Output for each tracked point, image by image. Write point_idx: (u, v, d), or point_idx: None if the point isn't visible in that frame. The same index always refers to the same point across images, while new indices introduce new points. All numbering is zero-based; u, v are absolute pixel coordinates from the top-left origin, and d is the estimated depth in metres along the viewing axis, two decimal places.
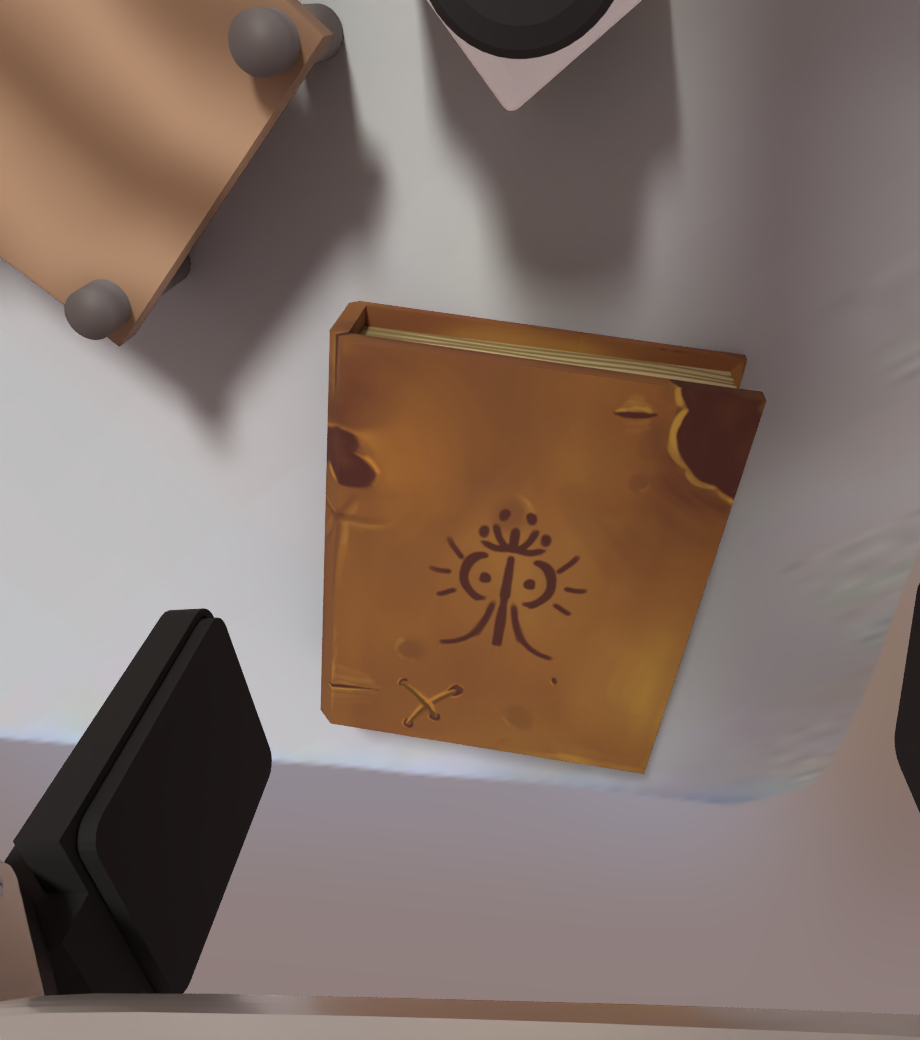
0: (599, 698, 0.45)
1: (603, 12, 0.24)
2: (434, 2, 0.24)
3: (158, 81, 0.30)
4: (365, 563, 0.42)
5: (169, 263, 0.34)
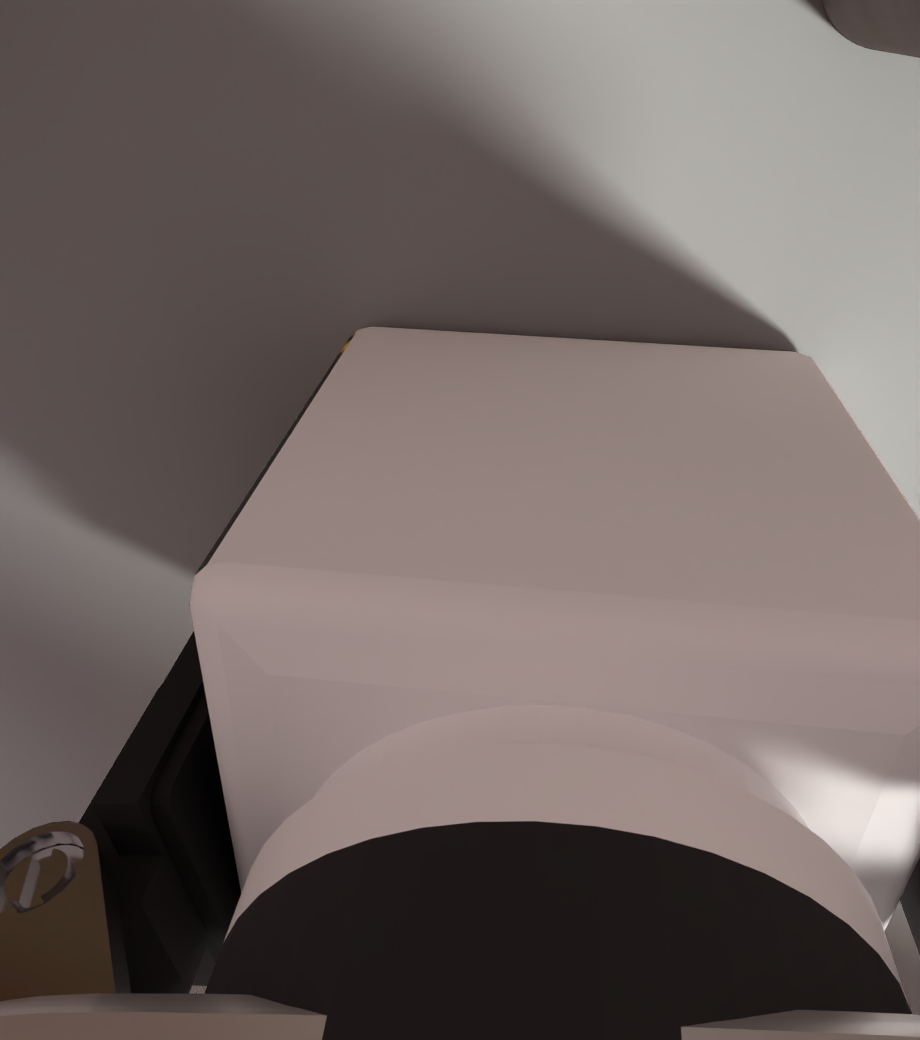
0: None
1: None
2: None
3: None
4: None
5: None
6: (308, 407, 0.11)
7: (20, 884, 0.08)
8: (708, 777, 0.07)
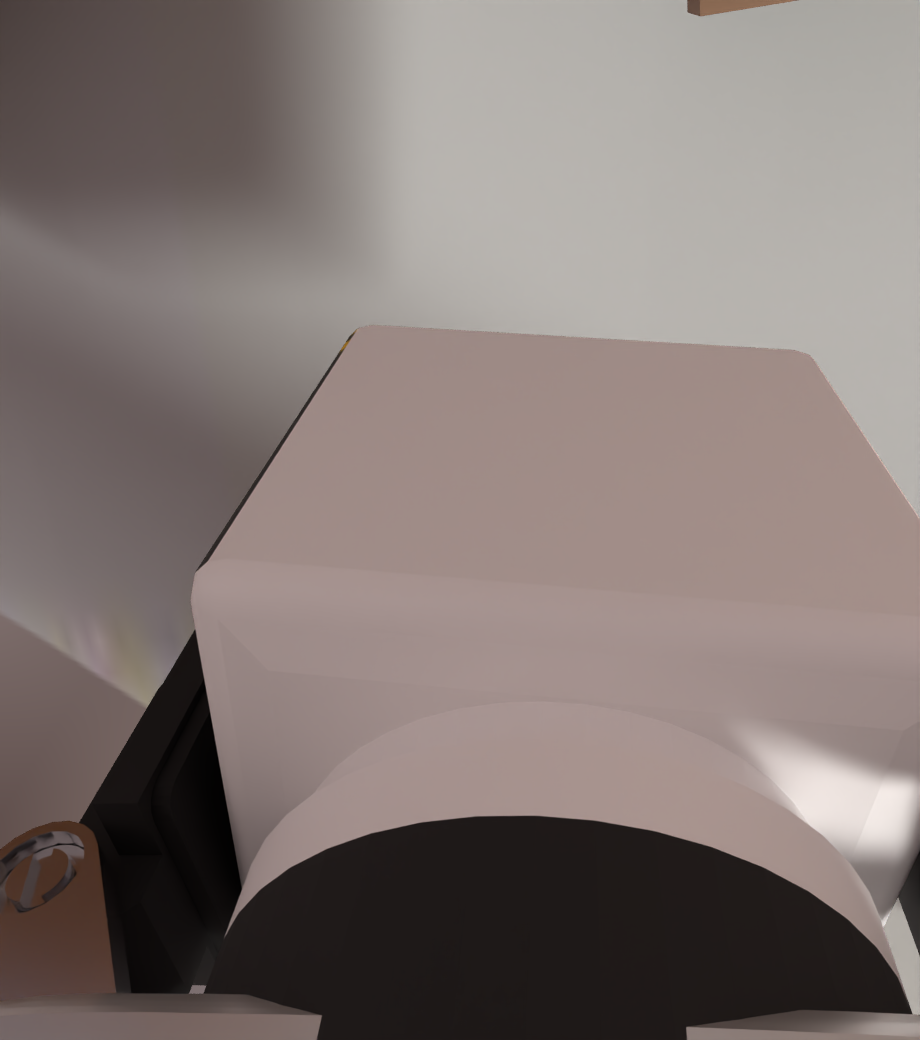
0: None
1: None
2: None
3: None
4: None
5: None
6: (309, 405, 0.11)
7: (21, 884, 0.08)
8: (707, 772, 0.07)
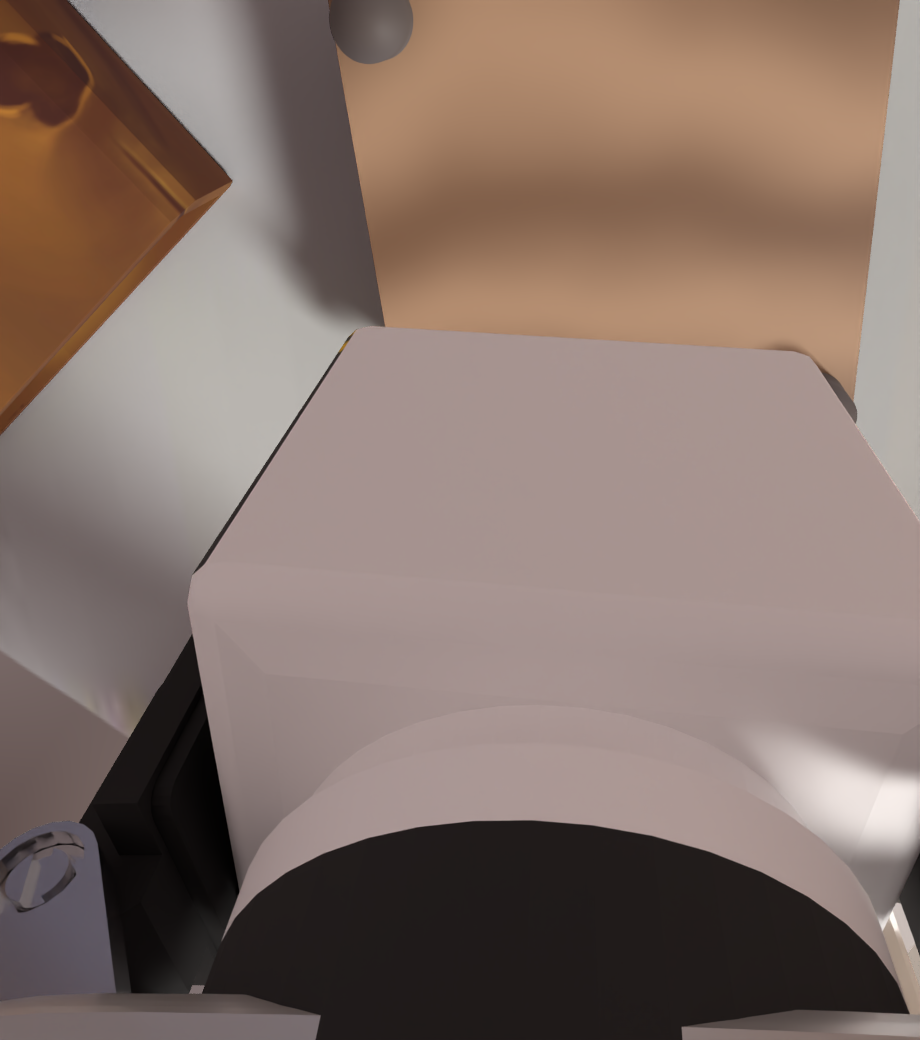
0: None
1: None
2: None
3: (496, 316, 0.28)
4: None
5: (358, 150, 0.25)
6: (307, 406, 0.11)
7: (20, 884, 0.08)
8: (706, 776, 0.07)
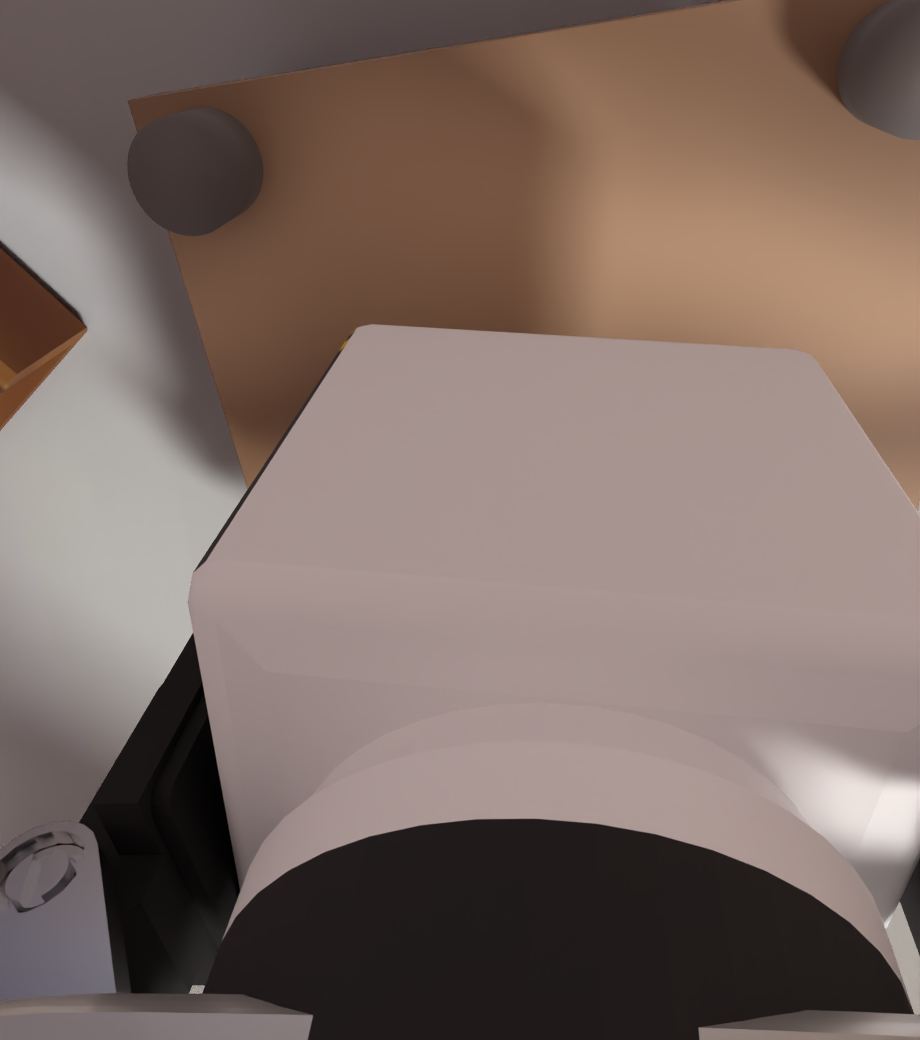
0: None
1: None
2: None
3: None
4: None
5: (205, 333, 0.18)
6: (307, 404, 0.11)
7: (21, 884, 0.08)
8: (708, 774, 0.07)
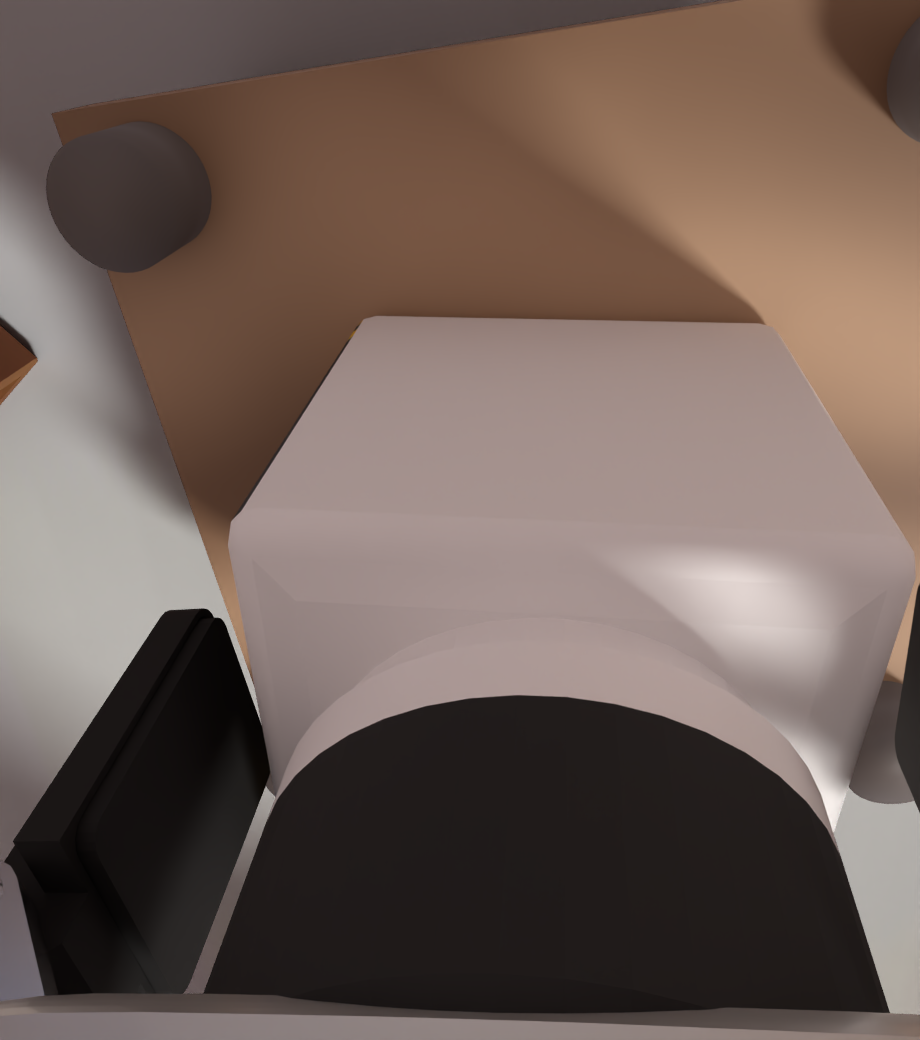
0: None
1: None
2: None
3: None
4: None
5: (152, 377, 0.16)
6: (321, 385, 0.12)
7: None
8: (662, 663, 0.08)
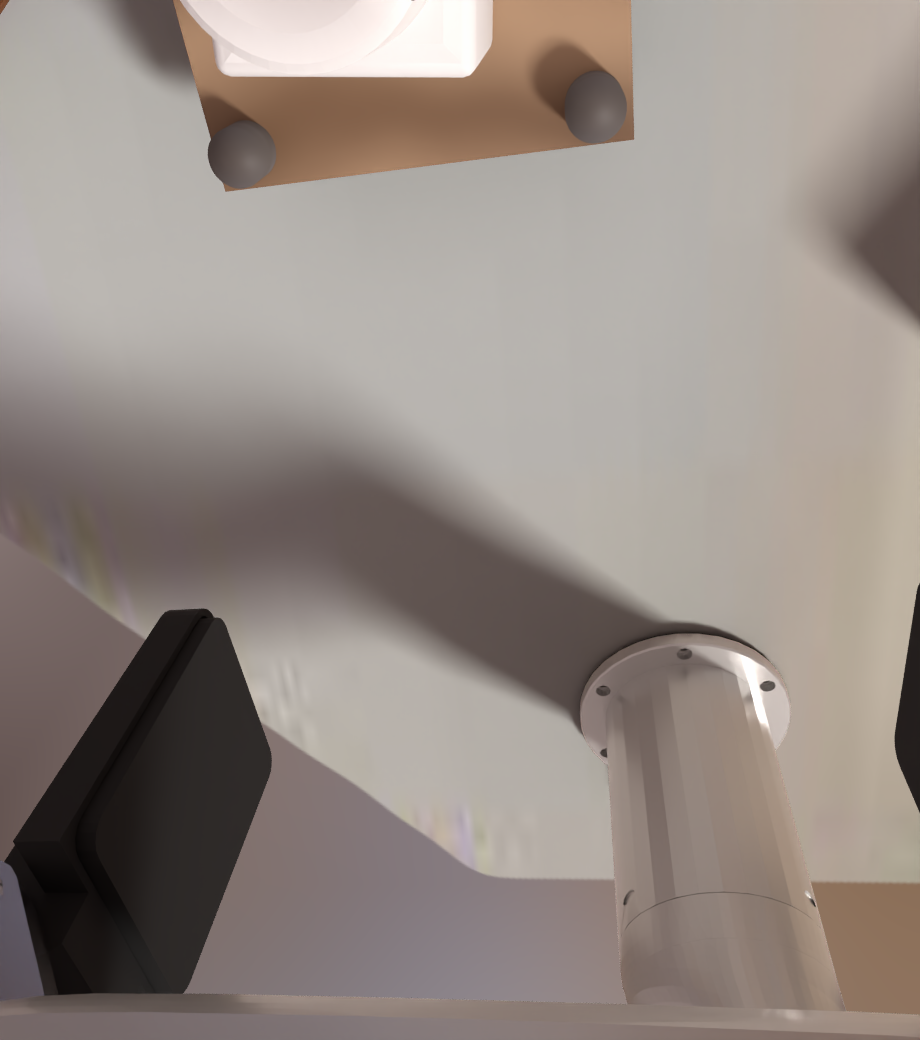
0: None
1: None
2: None
3: None
4: None
5: None
6: None
7: None
8: None
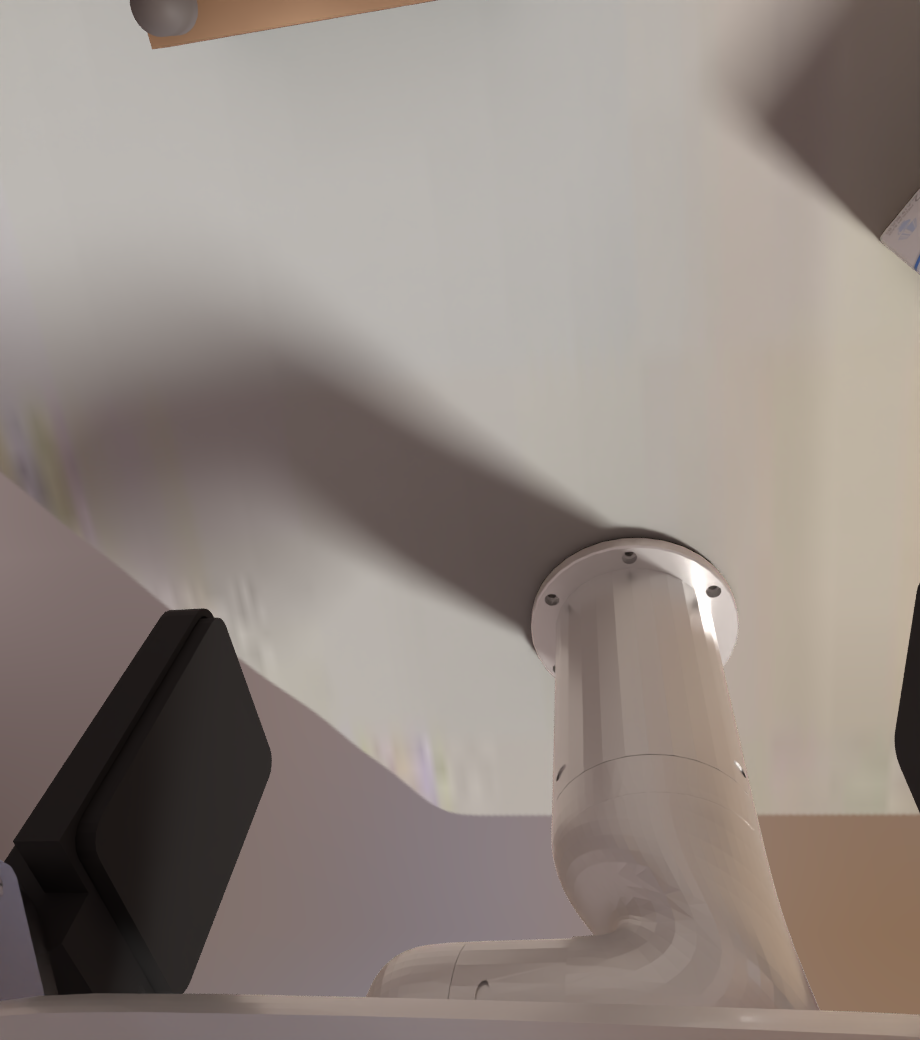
0: None
1: None
2: None
3: None
4: None
5: None
6: None
7: None
8: None
